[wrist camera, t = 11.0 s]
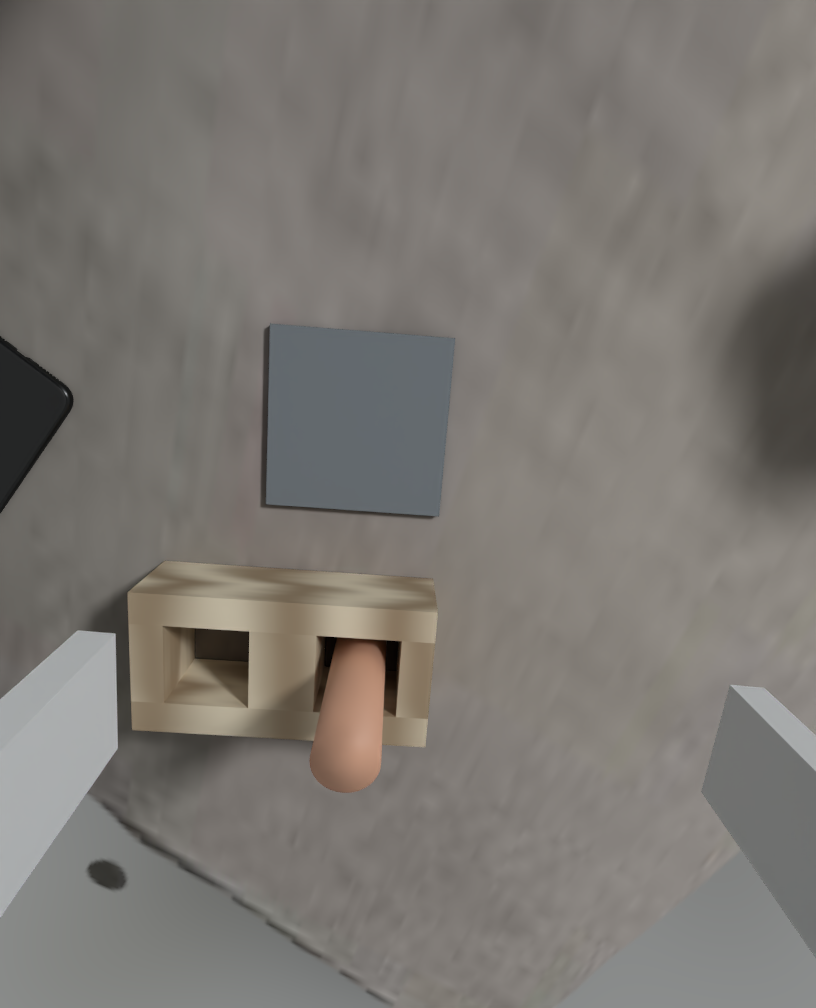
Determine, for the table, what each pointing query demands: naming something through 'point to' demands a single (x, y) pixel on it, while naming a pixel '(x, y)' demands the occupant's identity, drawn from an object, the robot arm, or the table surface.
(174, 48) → the table surface
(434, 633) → the hole block
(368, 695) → the peg
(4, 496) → the smartphone
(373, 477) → the mat
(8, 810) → the robot arm
